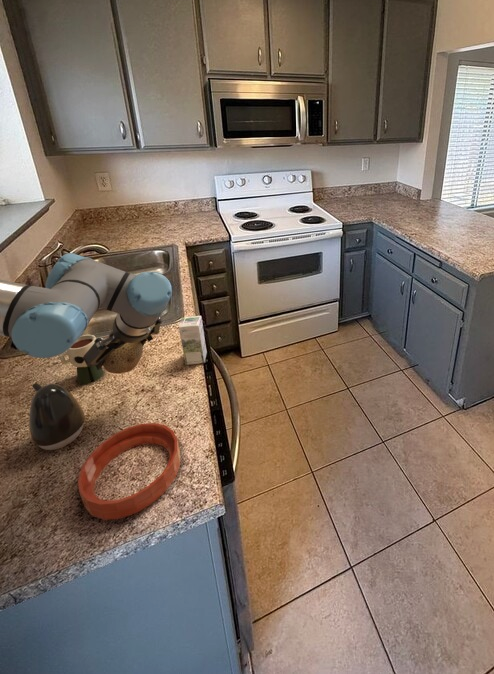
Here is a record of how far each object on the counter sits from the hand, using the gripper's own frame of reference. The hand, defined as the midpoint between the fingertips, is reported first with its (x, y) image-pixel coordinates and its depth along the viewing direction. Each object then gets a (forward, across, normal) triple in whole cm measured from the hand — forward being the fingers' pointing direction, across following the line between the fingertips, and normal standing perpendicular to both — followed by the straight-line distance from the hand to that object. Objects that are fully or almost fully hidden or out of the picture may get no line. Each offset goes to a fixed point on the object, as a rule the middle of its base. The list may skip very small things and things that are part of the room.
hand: (118, 354), depth 89 cm
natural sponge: (+1, 0, -5) cm, 5 cm away
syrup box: (+12, +21, -10) cm, 26 cm away
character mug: (+25, -2, +2) cm, 25 cm away
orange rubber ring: (-4, -9, -26) cm, 28 cm away
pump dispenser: (+12, -15, -10) cm, 22 cm away
